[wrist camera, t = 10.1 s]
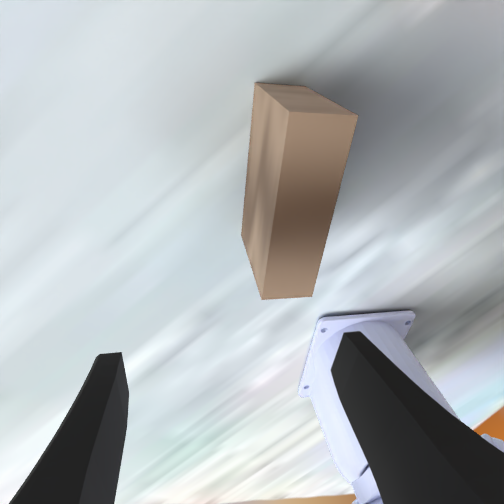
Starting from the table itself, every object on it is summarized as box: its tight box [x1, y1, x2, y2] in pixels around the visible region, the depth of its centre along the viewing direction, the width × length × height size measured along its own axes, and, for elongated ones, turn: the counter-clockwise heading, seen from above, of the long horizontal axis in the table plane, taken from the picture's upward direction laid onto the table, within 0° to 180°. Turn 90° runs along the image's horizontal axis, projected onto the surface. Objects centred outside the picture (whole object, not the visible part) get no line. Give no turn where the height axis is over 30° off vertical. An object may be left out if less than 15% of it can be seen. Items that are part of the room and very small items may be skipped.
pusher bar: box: [241, 83, 358, 300], centre depth 16 cm, size 8×2×6 cm, turn 175°
